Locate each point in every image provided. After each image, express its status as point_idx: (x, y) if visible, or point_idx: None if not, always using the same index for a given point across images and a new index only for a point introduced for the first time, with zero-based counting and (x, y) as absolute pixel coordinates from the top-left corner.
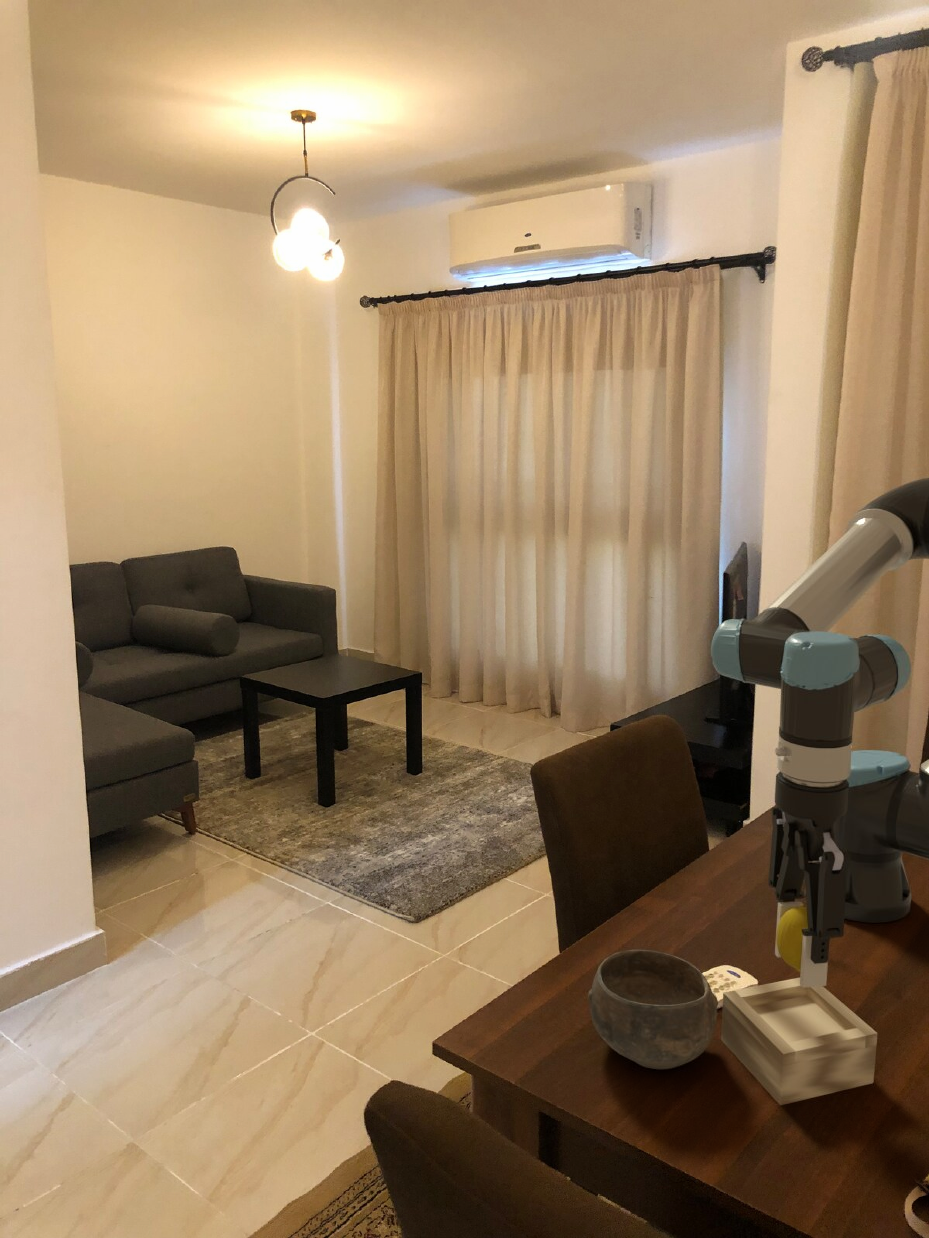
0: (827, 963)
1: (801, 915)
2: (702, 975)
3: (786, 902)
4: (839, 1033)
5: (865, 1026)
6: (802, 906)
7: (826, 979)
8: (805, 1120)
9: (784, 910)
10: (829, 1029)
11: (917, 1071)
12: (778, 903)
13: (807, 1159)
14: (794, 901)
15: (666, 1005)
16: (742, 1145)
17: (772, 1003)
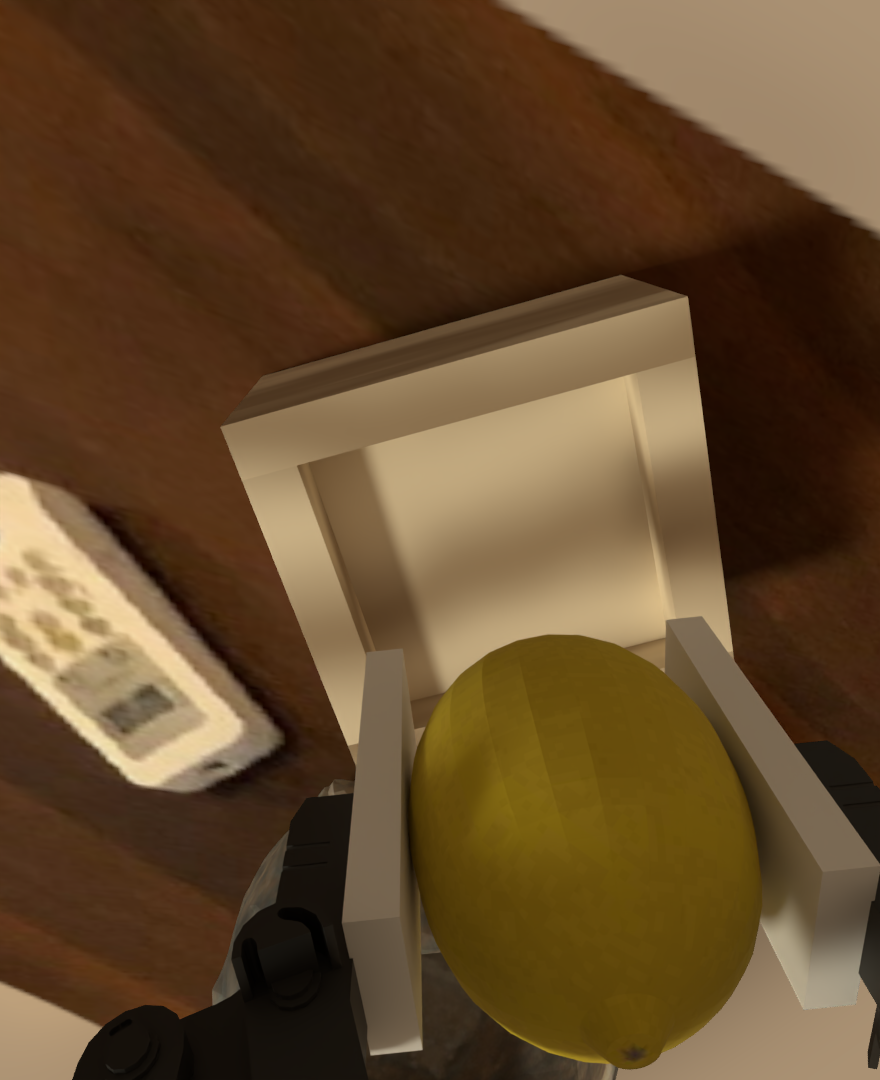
0: (757, 693)
1: (686, 1035)
2: (431, 950)
3: (372, 1010)
4: (662, 461)
5: (633, 330)
6: (632, 1063)
7: (715, 635)
8: (743, 550)
9: (418, 984)
10: (542, 440)
11: (583, 60)
12: (381, 1050)
13: (875, 591)
14: (356, 961)
15: (613, 1066)
16: (790, 718)
17: (362, 594)
